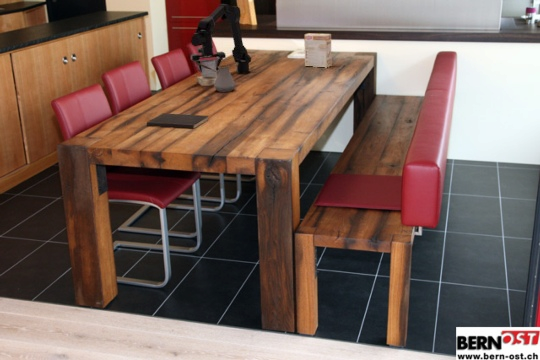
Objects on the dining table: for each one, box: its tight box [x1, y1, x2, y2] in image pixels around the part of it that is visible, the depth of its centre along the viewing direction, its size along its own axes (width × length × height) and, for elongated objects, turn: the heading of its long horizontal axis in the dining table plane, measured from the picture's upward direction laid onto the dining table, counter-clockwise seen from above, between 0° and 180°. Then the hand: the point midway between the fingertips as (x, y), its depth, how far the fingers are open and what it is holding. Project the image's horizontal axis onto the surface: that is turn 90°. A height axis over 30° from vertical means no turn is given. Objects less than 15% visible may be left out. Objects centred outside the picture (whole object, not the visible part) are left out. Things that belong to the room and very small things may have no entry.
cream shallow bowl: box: [196, 74, 218, 87], centre depth 392 cm, size 12×12×3 cm
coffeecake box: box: [304, 32, 332, 69], centre depth 422 cm, size 15×7×20 cm, turn 58°
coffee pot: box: [194, 62, 237, 93], centre depth 371 cm, size 21×12×15 cm, turn 79°
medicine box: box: [200, 59, 218, 77], centre depth 389 cm, size 8×4×9 cm, turn 85°
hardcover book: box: [146, 112, 209, 130], centre depth 314 cm, size 16×23×2 cm
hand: (209, 71), depth 390 cm, fingers closed on medicine box, 9 cm apart
